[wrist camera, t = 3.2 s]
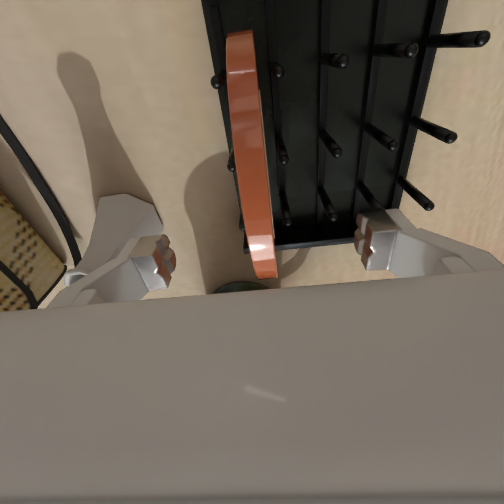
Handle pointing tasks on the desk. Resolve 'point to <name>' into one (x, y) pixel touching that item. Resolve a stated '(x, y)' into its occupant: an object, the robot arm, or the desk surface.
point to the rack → (335, 104)
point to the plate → (250, 151)
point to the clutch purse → (28, 245)
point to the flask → (115, 231)
